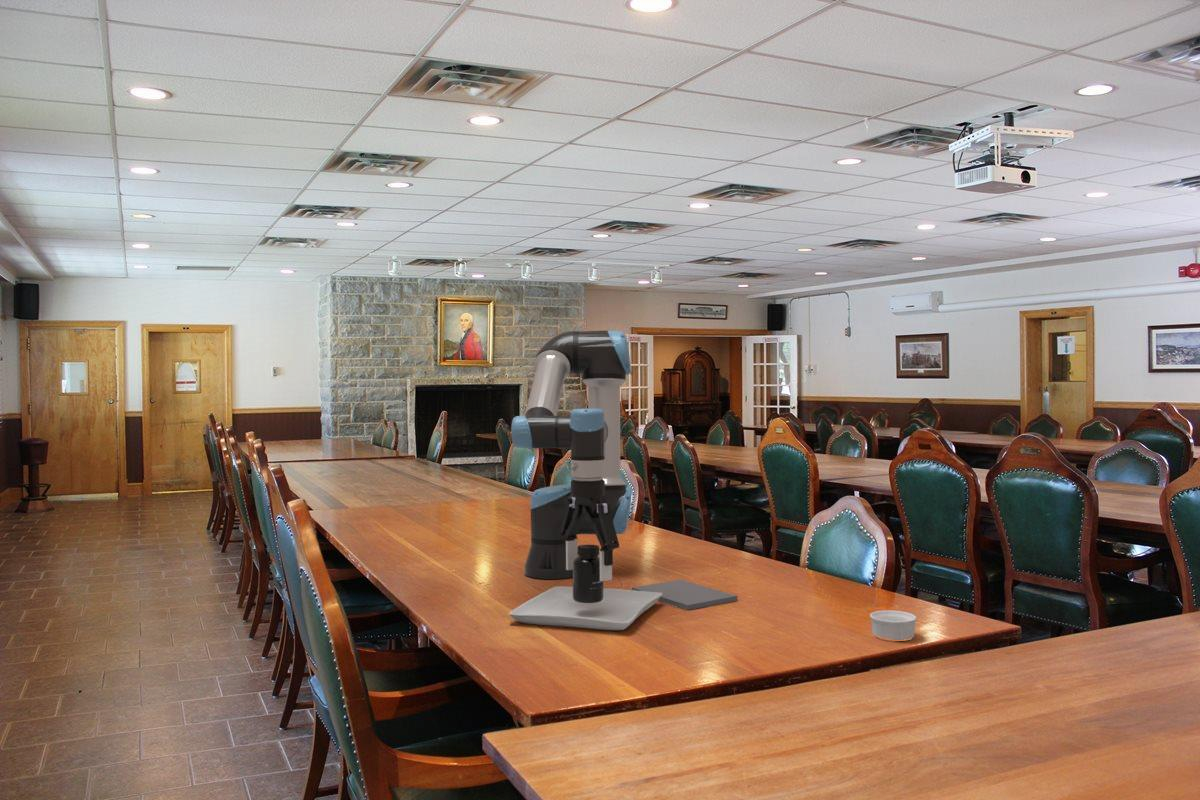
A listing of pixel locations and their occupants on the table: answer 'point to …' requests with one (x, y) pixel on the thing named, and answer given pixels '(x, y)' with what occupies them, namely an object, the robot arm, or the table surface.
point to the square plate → (585, 609)
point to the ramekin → (893, 624)
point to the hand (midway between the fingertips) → (588, 574)
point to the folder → (687, 594)
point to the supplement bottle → (587, 575)
